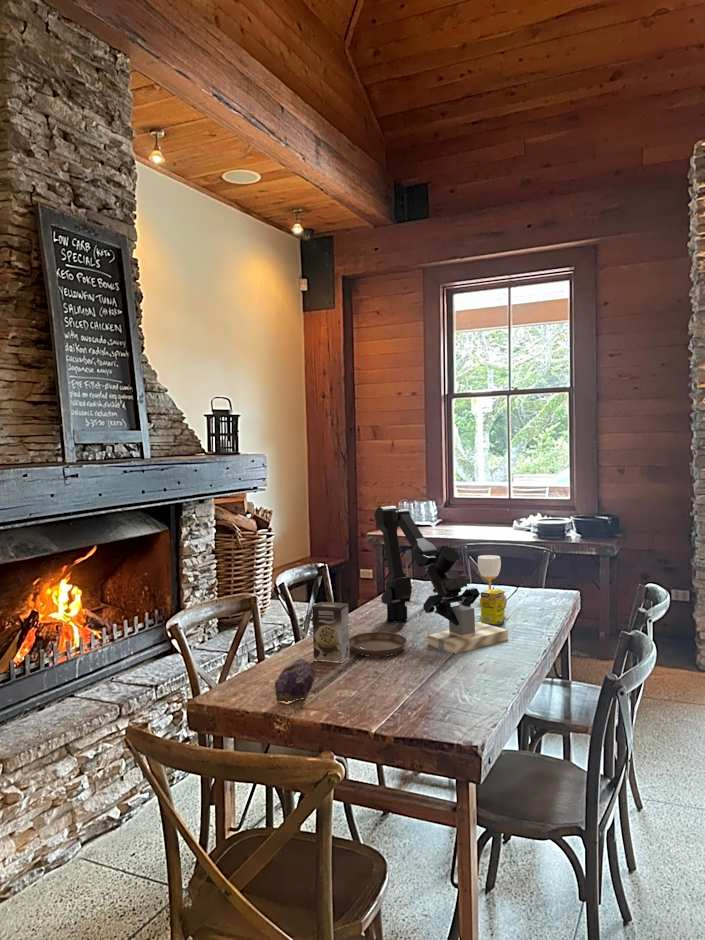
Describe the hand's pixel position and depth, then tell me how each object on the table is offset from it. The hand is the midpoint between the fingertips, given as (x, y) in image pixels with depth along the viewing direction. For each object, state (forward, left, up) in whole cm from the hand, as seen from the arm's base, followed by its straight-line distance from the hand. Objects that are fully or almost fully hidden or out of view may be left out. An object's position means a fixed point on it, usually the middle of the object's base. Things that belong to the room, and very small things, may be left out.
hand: (464, 623), depth 218 cm
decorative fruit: (+14, +33, -7) cm, 36 cm away
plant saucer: (-26, -3, -7) cm, 28 cm away
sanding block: (-1, +1, -3) cm, 4 cm away
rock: (-46, -42, -7) cm, 62 cm away
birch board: (+1, +2, -6) cm, 7 cm away
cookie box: (-39, -12, -7) cm, 42 cm away
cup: (+16, +59, -7) cm, 61 cm away
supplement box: (+12, +23, -7) cm, 27 cm away
